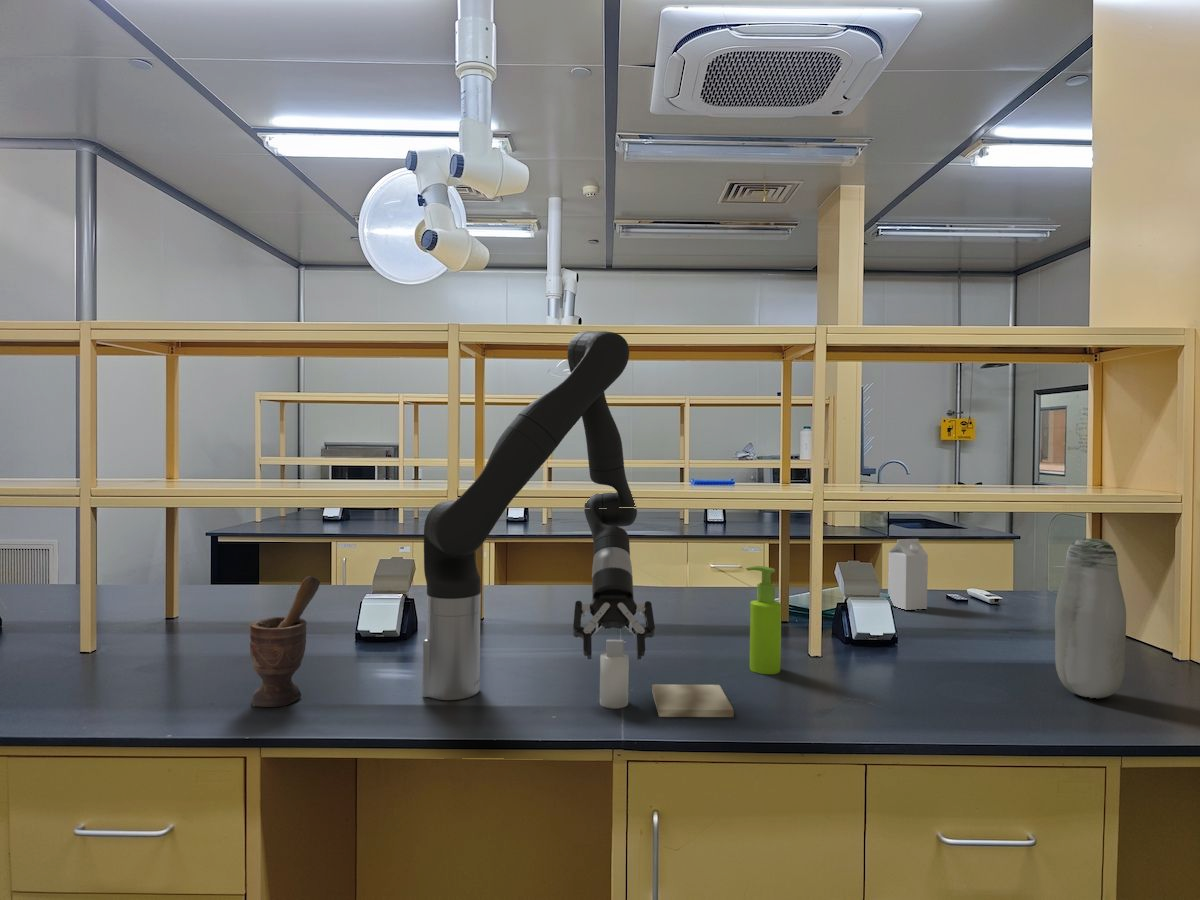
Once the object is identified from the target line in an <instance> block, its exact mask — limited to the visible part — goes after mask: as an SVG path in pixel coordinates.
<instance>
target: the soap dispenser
mask: <svg viewBox="0 0 1200 900" xmlns="http://www.w3.org/2000/svg"><path fill="white" fill-rule="evenodd" d="M745 570H746V571H758V572H761V582H760V583H758V584H757V585H756V589H757V590H756V599H754V600H751V601H750V609H749V610H750V613H749V615H750V616H749V618H750V619H749V671H751V672H753V673H756V674H761V675H777V674H779V673H781V661H782V660H781V659H782V658H781V657H782V655H781V654H782V653H781V652H782V651H781V650H782V648H781V647H782V603H781V602H779V601H776V585H775V584H773V583H772V582H771V581H772V580H771V579H772V577H771V576H772V575H771V574H772V573H775V572H776V569H775V568H773V567H768V566H761V565H758V566H757V565H755V566H750V567H746V568H745Z"/></svg>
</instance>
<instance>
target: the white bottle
mask: <svg viewBox="0 0 1200 900" xmlns="http://www.w3.org/2000/svg"><path fill="white" fill-rule="evenodd" d="M605 643H606V644H605V645H606V647H605V652H603V653H601V654H600V657H599V660H600V661H599V705H600V706H601V707H603V708H607V709H614V710H615V709H622V708H625V707H627V706H628V705H629V671H630V670H629V667H630V666H629V665H630V664H629V661H630V656H629V654H627V653H624V639H606V642H605Z"/></svg>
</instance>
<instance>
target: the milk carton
mask: <svg viewBox="0 0 1200 900" xmlns="http://www.w3.org/2000/svg"><path fill="white" fill-rule="evenodd" d="M928 560H929V558H928V554H927V552H926V550H925V549H924V547H923V546H922V545H921V544H920V539H919V538H905V539H897V541H896V544H895V545H894V546H893V547H891V549H890V550H889V551H888V563H887V564H888V574H887V575H888V576H887V577H888V579H887V582H888V583H887V595H888V594H889V596H890V599H891V601H892V603H893V605H894V606H896V607H898V608H901V609H905V610H911V609H927V610H928V567H929V566H928V563H929V562H928ZM898 608H897V609H898ZM901 609H900V610H901Z"/></svg>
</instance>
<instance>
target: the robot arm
mask: <svg viewBox="0 0 1200 900" xmlns="http://www.w3.org/2000/svg"><path fill="white" fill-rule="evenodd" d="M566 354H567V362H568V367H569V371H570V374H569V375H568V376H567V377H565V379H563V381H561V382H560V383H559V384H557V385H556V386H554V387H553V388H551V389H550V390H548V391H547V392H545V393H544V394H541V395H540V396H539V397H537V398H536V399H535V400H533V401H532V402H530V403H529V404H527V405H526V406H525V407H524V408H523V409H521V411H520V412H519V413H518V414H517V415H516V417H515V418H514V419H513V420H512V421H511V422H510V424H509V425H508V426H507V427H506V428H505V430H504V431H503V432H502V433H501V436H500V437H499V438H498V440H497V441H496V443H495V445H494V447H493V449H492V451H491V453H490V455H489V458H488V460H487V462H486V464H485V466H484V468H483V470H482V471H481V473H480V474H479V476H478V477H477V478H476V479H475V480H474V482H473V483H472V484H470V486H469V487H468V488H467V489H466V490H465V491H464V492H463V493H462V494H461V495H460V496H459V497H458V498H457V499H456V500H445V501H442V502H439V503H437V504H435V505H434V506H433V507H432V508H431V509H430V510H429V512H428V514H427V515H426V518H425V521H424V528H423V572H424V578H425V582H426V583H425V584H426V628H425V629H426V633H425V636H426V637H425V638H424V639H423V644H422V645H423V646H422V698H426V697H427V698H430V699H434V700H441V701H455V700H463V699H467V698H471V697H473V696H475V695H477V694H479V692H480V680H481V677H480V673H481V672H480V669H481V666H480V665H481V664H480V663H481V662H480V661H481V656H480V655H481V598H482V597H481V592H482V590H481V589H482V588H481V587H482V583H481V576H480V573H479V572H478V568H477V564H476V563H477V562H476V551H477V550H478V549H479V548H480V547H481V546H482V545H483V544H484V543H485V541H486V540H487V538H488V537H489V535H490V533H491V532H492V531H493V529H494V527H495V526H496V524H497V523H498V521H499V520H500V518H501V517H502V515H503V513H504V512H505V510H506V509H507V508H508V506H509V505H510V503H511V502H512V501H513V500H514V498H515V497H516V496H517V495H518V494H519V492H521V490H522V489H523V488H524V487H525V486H526V485H527V484H528V482H529V481H530V479H532V478H533V476H534V475H535V474H536V473H537V472H538V471H539V469H540V468H541V467H542V466H543V465H544V463H546V462H547V460H548V459H549V457H550V456H551V455H553V453H554V451H555V450H556V449H557V447H558V446H559V445H560V444H561V442H562V440H563V439H564V438H565V437H566V436H567V434H568V433H569V432H570V430H572V428H573V427H574V426H575V425H576V424H577V422H578V421H579V420H580V419H581V418H582V424H583V428H584V434H585V441H586V451H587V460H588V470H589V471H588V473H589V477H590V480H591V482H593V483H594V484H596V485H603V486H604V485H605V486H608V487H612V488H613V489H614V490H615V491H616V493H612V492H602V493H603V494H599V493H594V494H595V495H593V494H592V495H593V496H591V495H590V496H591V497H590V499H589V500H588V501H587V503H584V507H585V508H590V509H584V508H583V510H584V515H585V518H586V522H587V524H588V526H589V530H590V531H591V535H592V542H593V543H592V546H593V562H592V568H591V573H592V574H591V582H592V584H591V585H592V587H591V588H592V589H591V591H592V593H591V594H592V595H591V596H592V599H591V600H592V601H591V602H590V604H588V603H583V602H582V601H581V600H576V601H575V603H574V604H575V605H574V615H573V629H572V633H573V637H574V638H580V639H582V640H583V641H582V642H583V643H582V645H583V648H582V649H583V650H582V651H583V652H582V654H583V655H584V657H586V658H587V660H592V649H593V647H592V637H593V636H594V635H595V634H596V633H598V632H599V630H600V629H601V628H602V627H603V628H604V629H611V628H614V629H619V630H621V629H623V628H625V629H626V630H627V631H628V632H629V633H630V634H632V635H633V636H634V637H635V638H636V639H635V645H636V646H635V648H636V650H635V651H636V660H642V657H644V656H645V654H646V639H647V638H654V636H655V628H656V627H655V626H656V625H655V620H654V619H655V618H654V612H653V605H652V602H651V601H645V602H644V603H643V604H642V603H639V604H637V603H636V602H635V600H634V599H635V598H634V583H633V582H634V581H633V566H632V565H633V564H632V561H631V550H630V549H631V548H630V537H629V534H628V532H627V531H626V530H625V529H623V528H622V527H629V526H632V525H633V524H634V522H635V520H636V519H637V516H638V508H637V509H634V508H619V507H637V505H636V506H634V505H635V503H636V502H635V503H634V501H635V499H634V500H633V498H634V496H633V494H631V493H632V491H631V488H630V486H629V483H628V480H627V476H626V472H625V470H626V469H625V462H624V450H623V443H622V438H621V434H620V432H619V431H620V430H619V428H618V426H617V423H616V422H615V419H614V418H613V415H612V412H611V410H610V407H609V406H608V403H607V399H606V395H605V391H606V390H607V389H608V388H609V387H610V386H611V385H612V384H613V383H615V381H616V380H617V379H618V378H619V377H620V376H621V375H622V374H623V372H624V371H625V369H626V367H627V364H628V362H629V359H630V348H629V344H628V342H627V339H625V337H623V336H622V335H621V334H619V333H616V332H612V331H606V330H601V331H600V330H584V331H581V332H578V333H576V334H575V335H574V336H573V337H572V338H571V339H570V342H569V344H568V347H567V353H566ZM632 496H633V497H632ZM599 508H607V509H599ZM589 612H590V615H591V616H592V617H591V619H590V620H589V623H588V624H587V625H586V626H585V627H583V626H582V618H584V617H585V616H586V615H587V613H589ZM637 612H638V613H639V614H640V617H641V618H644V623H645V627H643V626H642V625H641V623H639V621H638V619H637V618H636V616H635V614H636V613H637Z"/></svg>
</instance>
